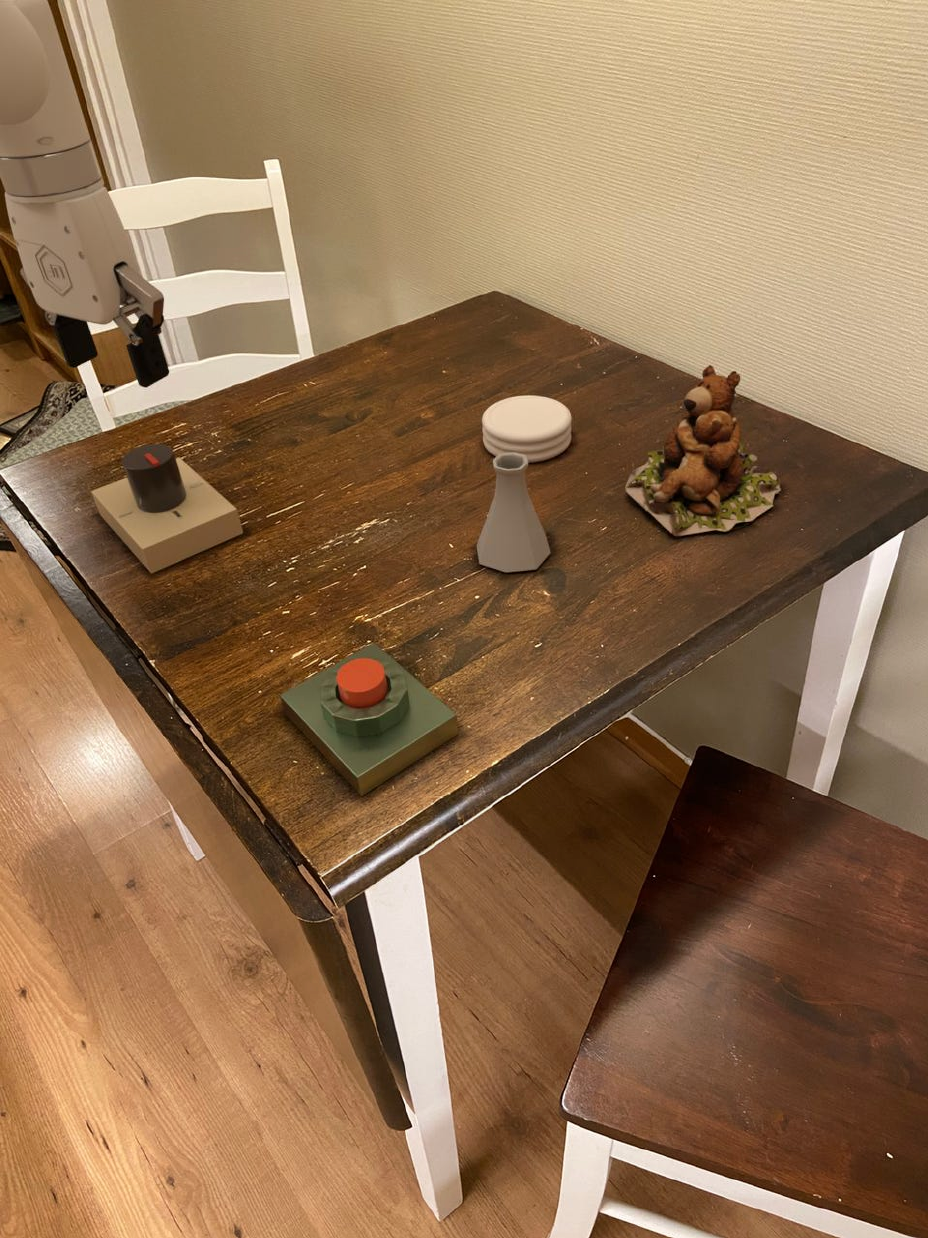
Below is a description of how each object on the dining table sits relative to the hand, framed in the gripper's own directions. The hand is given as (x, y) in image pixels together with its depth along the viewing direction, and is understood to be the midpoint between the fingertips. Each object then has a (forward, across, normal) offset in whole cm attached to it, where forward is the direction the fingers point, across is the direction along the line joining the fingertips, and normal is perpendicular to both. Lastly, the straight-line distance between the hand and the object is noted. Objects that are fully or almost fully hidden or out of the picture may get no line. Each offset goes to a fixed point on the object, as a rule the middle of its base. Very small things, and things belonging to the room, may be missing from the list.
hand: (118, 370), depth 82 cm
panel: (+17, +1, -1) cm, 17 cm away
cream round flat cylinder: (+17, +26, +30) cm, 44 cm away
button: (+13, +36, -13) cm, 41 cm away
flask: (+17, +35, +11) cm, 41 cm away
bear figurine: (+17, +47, +28) cm, 58 cm away
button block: (+16, +36, -13) cm, 42 cm away
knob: (+14, +1, -1) cm, 14 cm away
